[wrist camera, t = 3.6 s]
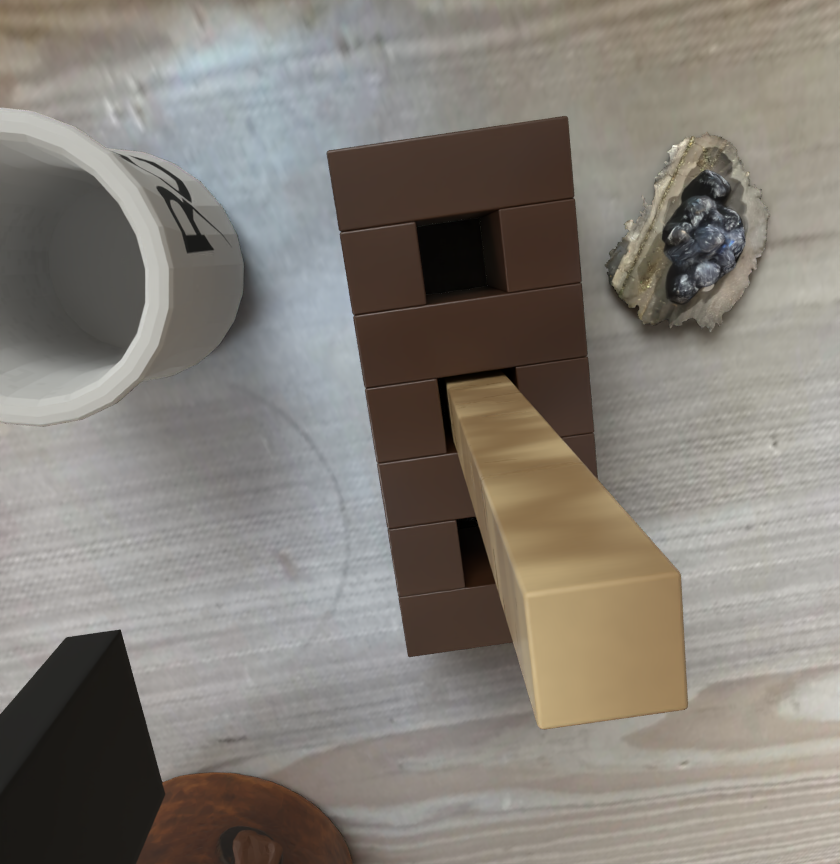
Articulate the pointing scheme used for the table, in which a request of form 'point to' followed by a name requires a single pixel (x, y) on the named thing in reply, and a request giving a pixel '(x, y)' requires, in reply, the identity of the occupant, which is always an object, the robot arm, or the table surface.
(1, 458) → the table surface
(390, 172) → the holder
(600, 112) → the table surface
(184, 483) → the table surface
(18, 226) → the mug
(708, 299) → the mineral rock specimen
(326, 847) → the case
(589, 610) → the stick
